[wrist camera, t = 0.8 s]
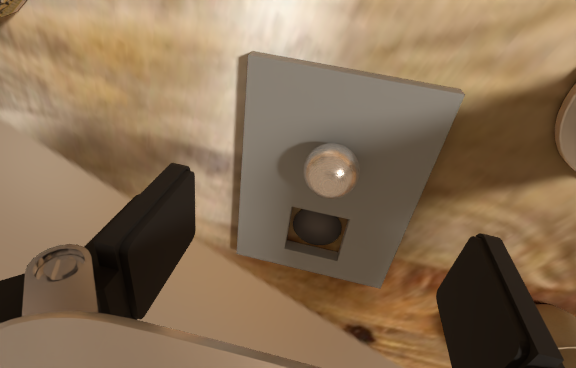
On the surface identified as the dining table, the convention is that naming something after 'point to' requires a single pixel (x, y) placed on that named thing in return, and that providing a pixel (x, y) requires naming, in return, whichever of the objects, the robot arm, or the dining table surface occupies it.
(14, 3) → the ceramic cup
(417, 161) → the grey flat plate
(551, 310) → the flower pot
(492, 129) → the dining table surface
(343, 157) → the ball
